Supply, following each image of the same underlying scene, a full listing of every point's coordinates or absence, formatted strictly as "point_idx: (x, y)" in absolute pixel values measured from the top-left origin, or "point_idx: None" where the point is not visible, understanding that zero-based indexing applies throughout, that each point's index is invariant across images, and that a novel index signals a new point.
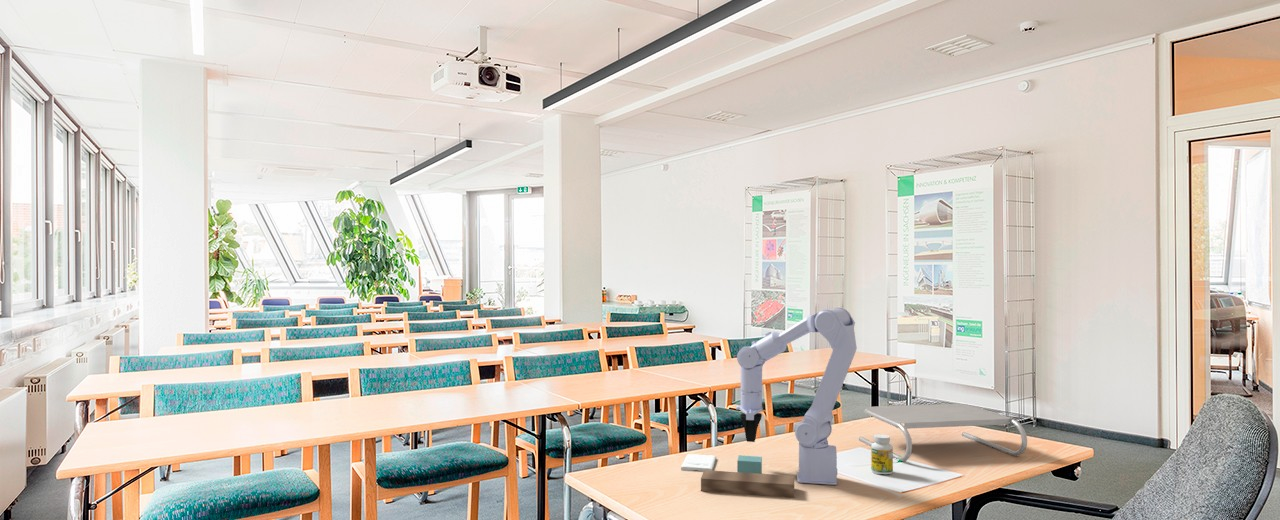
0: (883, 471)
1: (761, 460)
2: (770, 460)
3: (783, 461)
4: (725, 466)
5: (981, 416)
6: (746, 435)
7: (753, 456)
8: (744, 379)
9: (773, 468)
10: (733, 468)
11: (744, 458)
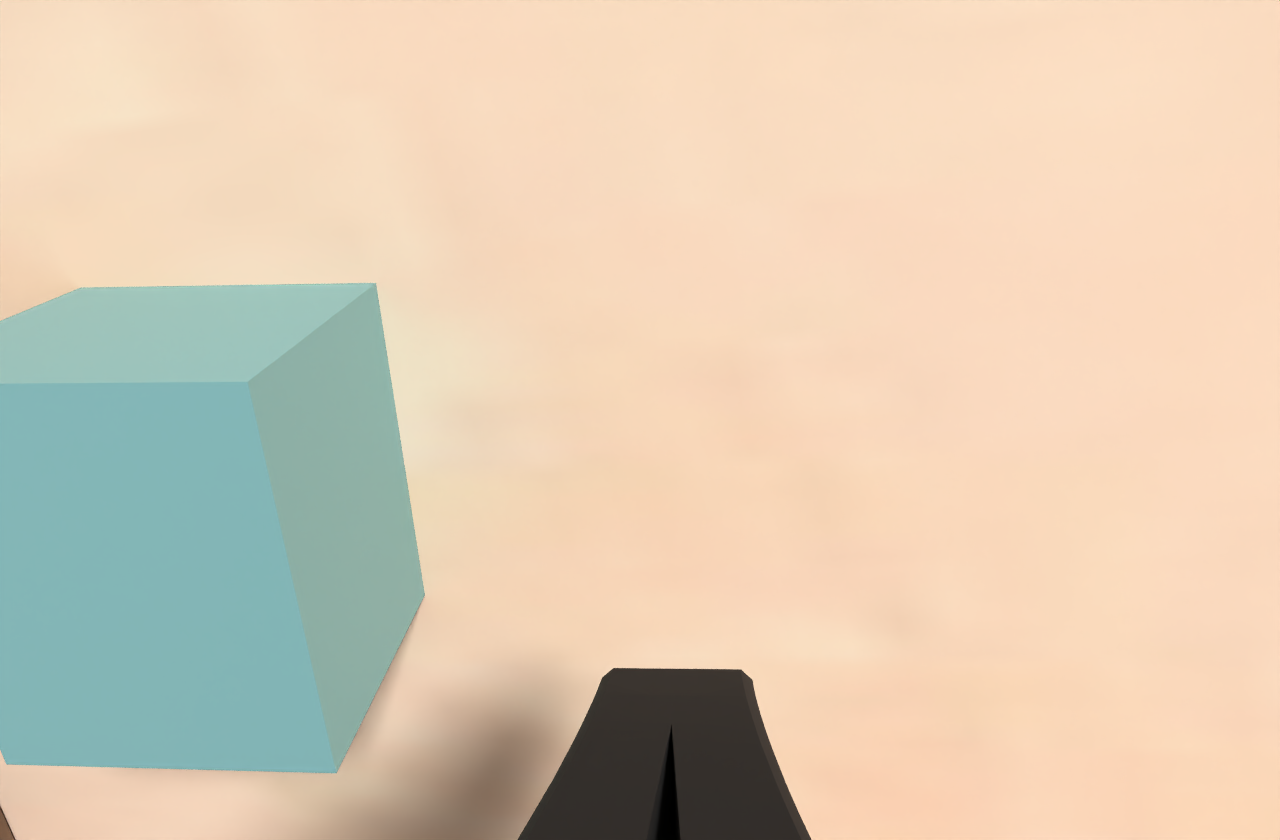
0: None
1: (158, 757)
2: (1106, 690)
3: (1065, 829)
4: (622, 13)
5: None
6: (549, 801)
7: (289, 650)
8: None
9: None
10: (539, 179)
11: (71, 506)
